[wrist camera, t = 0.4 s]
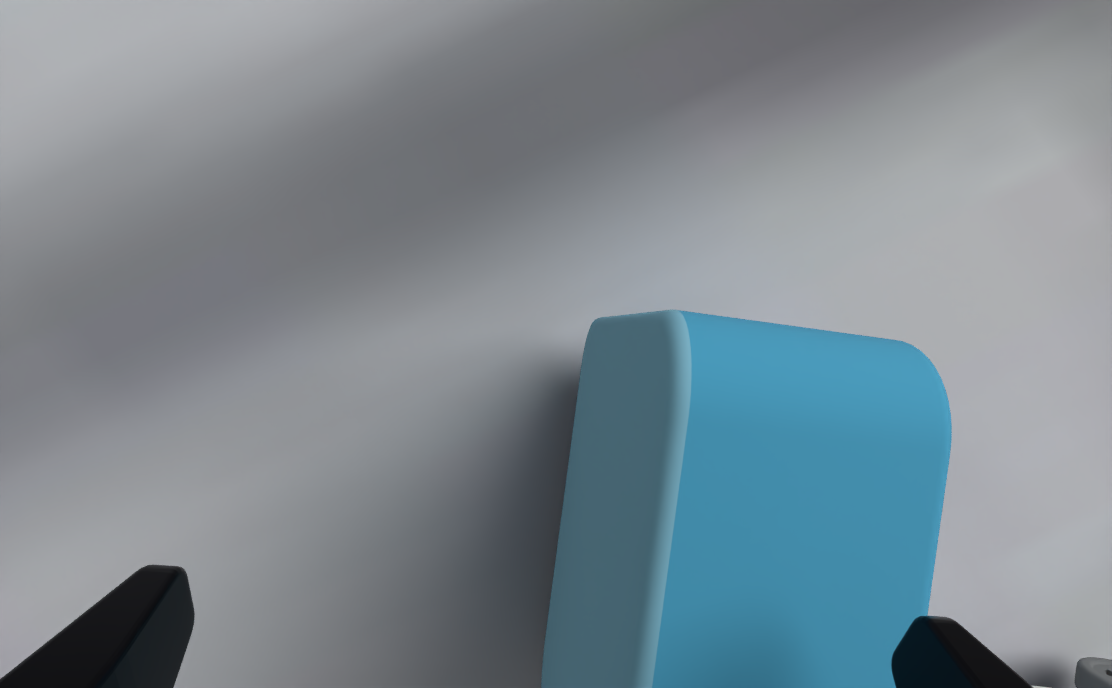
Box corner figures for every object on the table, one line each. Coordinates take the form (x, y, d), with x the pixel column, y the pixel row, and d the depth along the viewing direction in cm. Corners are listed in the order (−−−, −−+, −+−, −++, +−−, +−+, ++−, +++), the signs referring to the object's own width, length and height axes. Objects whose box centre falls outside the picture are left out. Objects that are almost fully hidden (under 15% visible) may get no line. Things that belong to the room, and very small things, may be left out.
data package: (674, 699, 23) (865, 1116, 11) (537, 685, 22) (576, 1103, 10) (723, 335, 22) (974, 344, 10) (586, 317, 22) (684, 304, 10)
